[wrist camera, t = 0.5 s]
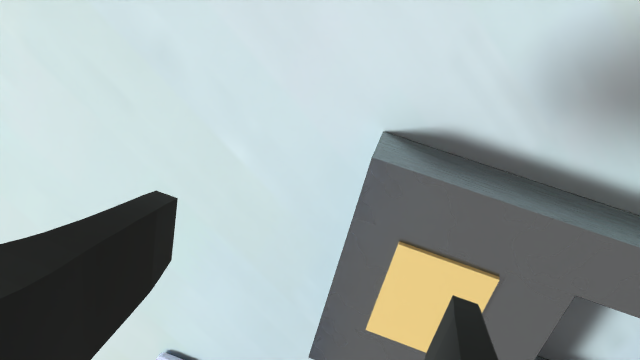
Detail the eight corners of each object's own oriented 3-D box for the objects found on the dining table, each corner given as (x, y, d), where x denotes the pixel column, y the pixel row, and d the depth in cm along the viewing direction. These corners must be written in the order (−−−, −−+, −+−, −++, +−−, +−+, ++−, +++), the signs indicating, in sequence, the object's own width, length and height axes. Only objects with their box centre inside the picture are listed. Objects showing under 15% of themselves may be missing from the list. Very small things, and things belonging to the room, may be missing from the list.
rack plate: (662, 450, 26) (678, 505, 23) (322, 321, 28) (307, 360, 25) (824, 276, 20) (867, 327, 18) (383, 131, 22) (371, 159, 20)
